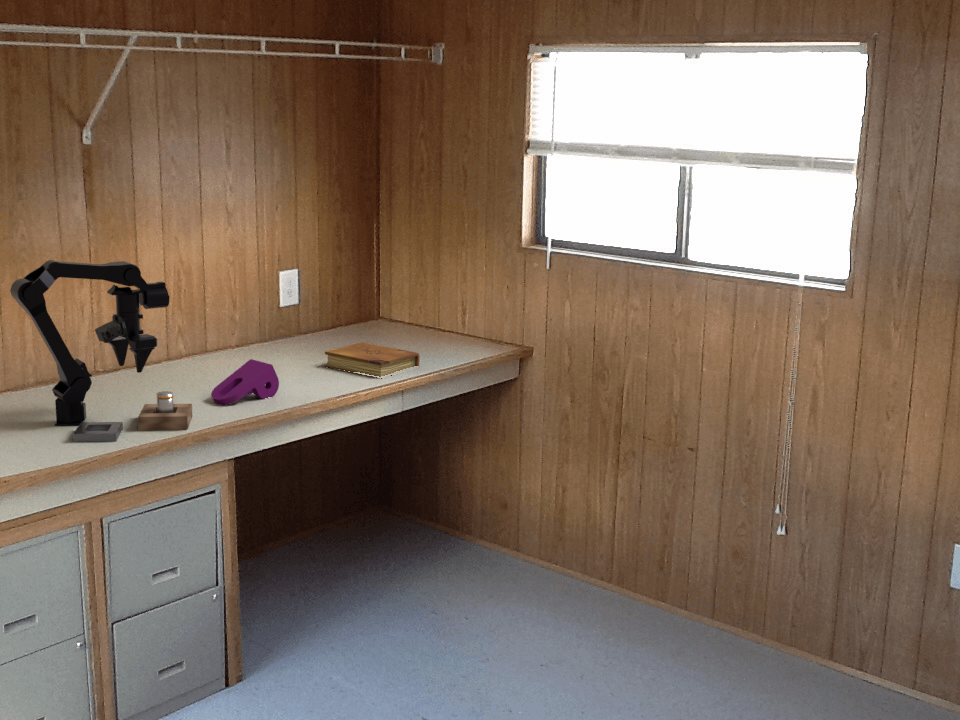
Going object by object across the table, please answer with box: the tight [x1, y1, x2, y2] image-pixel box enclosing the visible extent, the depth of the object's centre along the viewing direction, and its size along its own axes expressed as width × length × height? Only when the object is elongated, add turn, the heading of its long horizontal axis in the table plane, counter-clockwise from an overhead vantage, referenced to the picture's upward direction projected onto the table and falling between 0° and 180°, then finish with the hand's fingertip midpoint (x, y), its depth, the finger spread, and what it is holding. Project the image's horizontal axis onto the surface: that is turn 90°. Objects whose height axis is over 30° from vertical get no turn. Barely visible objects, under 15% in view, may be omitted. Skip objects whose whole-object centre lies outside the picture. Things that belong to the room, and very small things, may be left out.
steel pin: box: [156, 390, 174, 413], centre depth 291 cm, size 4×4×8 cm
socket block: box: [137, 403, 193, 431], centre depth 292 cm, size 12×12×4 cm
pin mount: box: [72, 421, 124, 443], centre depth 280 cm, size 10×10×2 cm
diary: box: [324, 342, 420, 377], centre depth 356 cm, size 23×19×6 cm
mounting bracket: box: [210, 358, 280, 406], centre depth 317 cm, size 9×8×18 cm
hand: (130, 369), depth 297 cm, fingers open, 9 cm apart
